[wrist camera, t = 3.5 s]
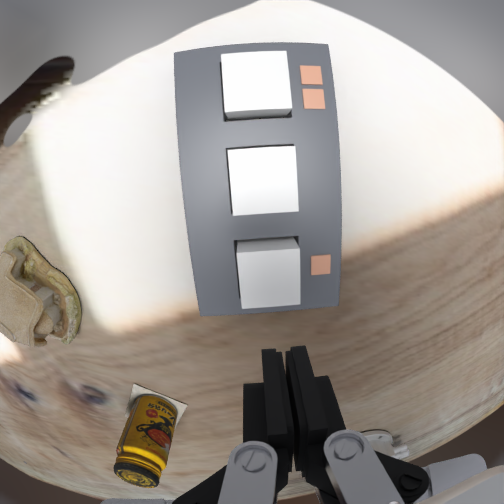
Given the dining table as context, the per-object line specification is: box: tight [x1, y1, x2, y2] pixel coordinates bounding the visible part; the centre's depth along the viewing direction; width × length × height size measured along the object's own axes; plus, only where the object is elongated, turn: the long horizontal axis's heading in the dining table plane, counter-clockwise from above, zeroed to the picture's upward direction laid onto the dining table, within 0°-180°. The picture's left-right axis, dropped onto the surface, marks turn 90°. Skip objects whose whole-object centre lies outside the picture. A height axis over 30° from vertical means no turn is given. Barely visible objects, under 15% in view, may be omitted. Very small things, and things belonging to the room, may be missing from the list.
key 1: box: [221, 51, 292, 120], centre depth 18 cm, size 4×4×4 cm
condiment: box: [114, 384, 188, 488], centre depth 26 cm, size 7×8×12 cm
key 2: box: [228, 146, 299, 216], centre depth 20 cm, size 4×4×4 cm
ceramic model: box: [0, 236, 81, 347], centre depth 22 cm, size 14×11×10 cm
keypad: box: [174, 42, 342, 316], centre depth 22 cm, size 12×22×3 cm, turn 4°
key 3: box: [237, 236, 300, 309], centre depth 22 cm, size 4×4×4 cm
